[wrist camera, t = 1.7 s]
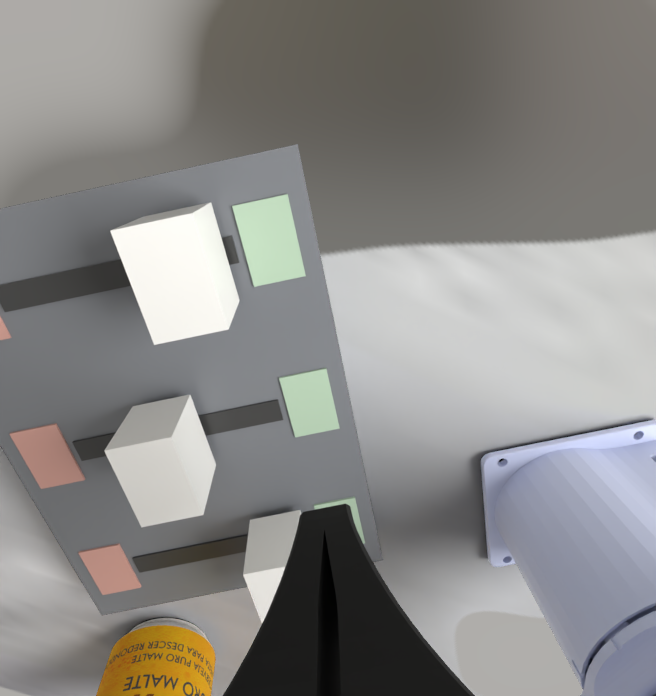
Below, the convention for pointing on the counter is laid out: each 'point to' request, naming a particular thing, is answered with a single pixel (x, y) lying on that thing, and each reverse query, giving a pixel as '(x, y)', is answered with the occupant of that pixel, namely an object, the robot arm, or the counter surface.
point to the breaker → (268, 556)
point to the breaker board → (174, 378)
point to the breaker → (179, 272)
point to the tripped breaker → (163, 461)
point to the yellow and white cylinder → (160, 661)
